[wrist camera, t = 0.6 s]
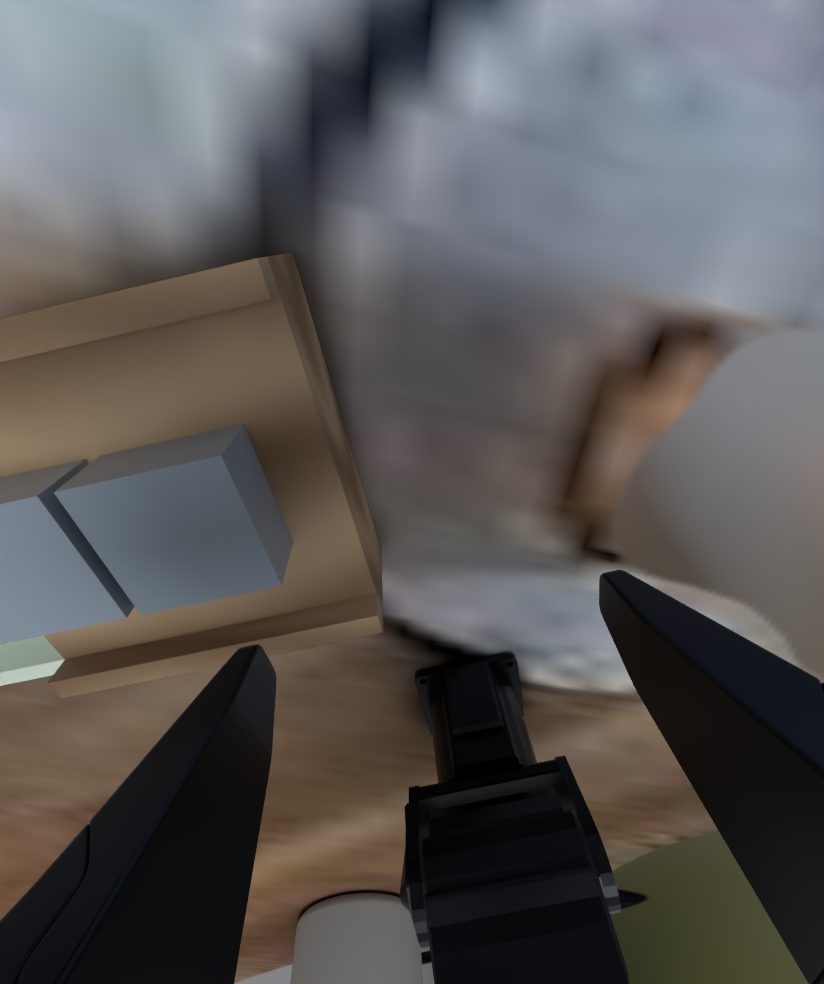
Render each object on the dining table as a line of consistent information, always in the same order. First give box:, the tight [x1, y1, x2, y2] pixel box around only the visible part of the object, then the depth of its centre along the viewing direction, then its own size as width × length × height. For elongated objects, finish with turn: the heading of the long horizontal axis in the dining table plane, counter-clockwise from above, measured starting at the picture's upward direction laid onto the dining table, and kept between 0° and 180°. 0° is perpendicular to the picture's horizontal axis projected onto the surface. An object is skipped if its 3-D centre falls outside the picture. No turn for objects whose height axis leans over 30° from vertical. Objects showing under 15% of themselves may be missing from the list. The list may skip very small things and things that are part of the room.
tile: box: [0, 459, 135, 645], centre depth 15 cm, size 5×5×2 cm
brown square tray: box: [0, 252, 383, 698], centre depth 18 cm, size 14×14×6 cm
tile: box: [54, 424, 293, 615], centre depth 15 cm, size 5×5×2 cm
